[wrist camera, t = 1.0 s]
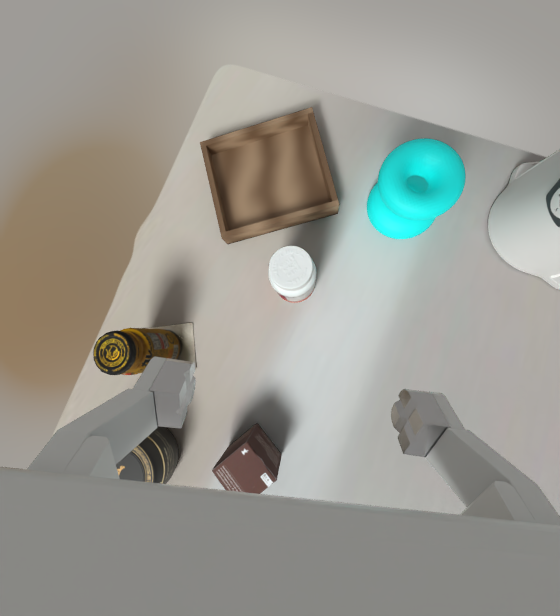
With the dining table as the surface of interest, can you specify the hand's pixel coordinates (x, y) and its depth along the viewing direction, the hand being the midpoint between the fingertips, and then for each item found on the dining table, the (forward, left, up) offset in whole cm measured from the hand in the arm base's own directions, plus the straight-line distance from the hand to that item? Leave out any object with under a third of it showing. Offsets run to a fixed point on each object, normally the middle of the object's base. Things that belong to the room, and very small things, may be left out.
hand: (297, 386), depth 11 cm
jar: (+27, +10, -32) cm, 43 cm away
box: (+11, +13, -32) cm, 37 cm away
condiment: (+21, -5, -32) cm, 39 cm away
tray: (-1, -27, -32) cm, 42 cm away
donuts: (-19, -17, -32) cm, 41 cm away
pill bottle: (-1, -10, -32) cm, 34 cm away
